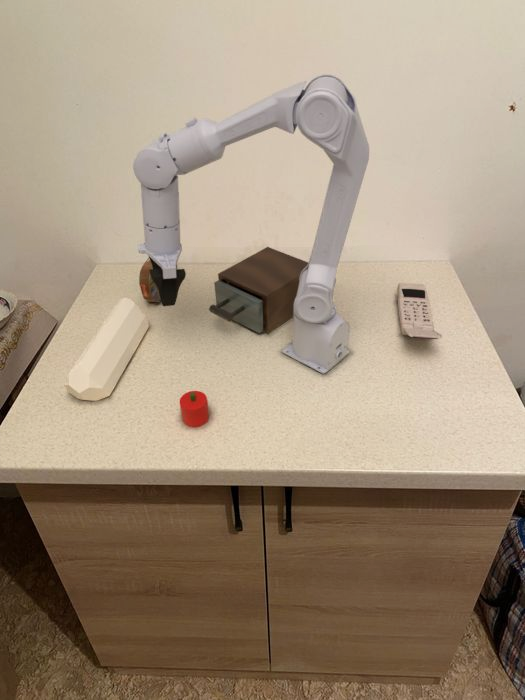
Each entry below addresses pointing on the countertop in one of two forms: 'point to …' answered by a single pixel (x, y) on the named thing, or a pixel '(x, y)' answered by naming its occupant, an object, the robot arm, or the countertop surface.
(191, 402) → the pepper
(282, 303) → the cabinet
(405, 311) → the mobile phone
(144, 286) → the tin
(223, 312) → the drawer
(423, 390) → the countertop surface
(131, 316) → the crystal
